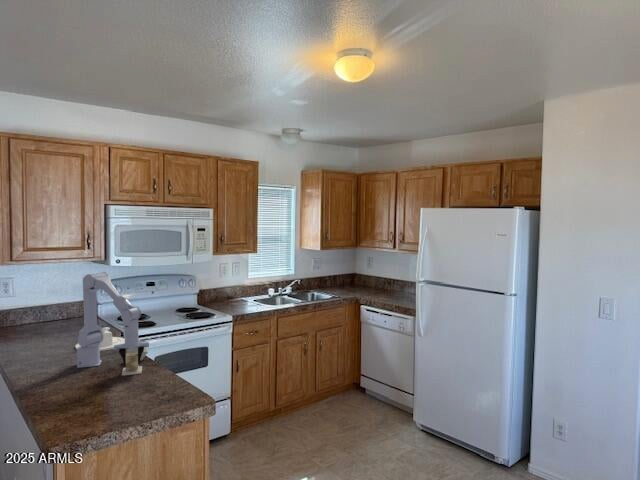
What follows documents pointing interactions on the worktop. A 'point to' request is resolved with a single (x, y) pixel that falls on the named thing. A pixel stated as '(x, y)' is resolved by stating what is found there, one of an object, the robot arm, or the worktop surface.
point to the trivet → (132, 371)
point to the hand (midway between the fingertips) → (132, 364)
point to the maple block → (131, 361)
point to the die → (135, 350)
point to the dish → (108, 340)
